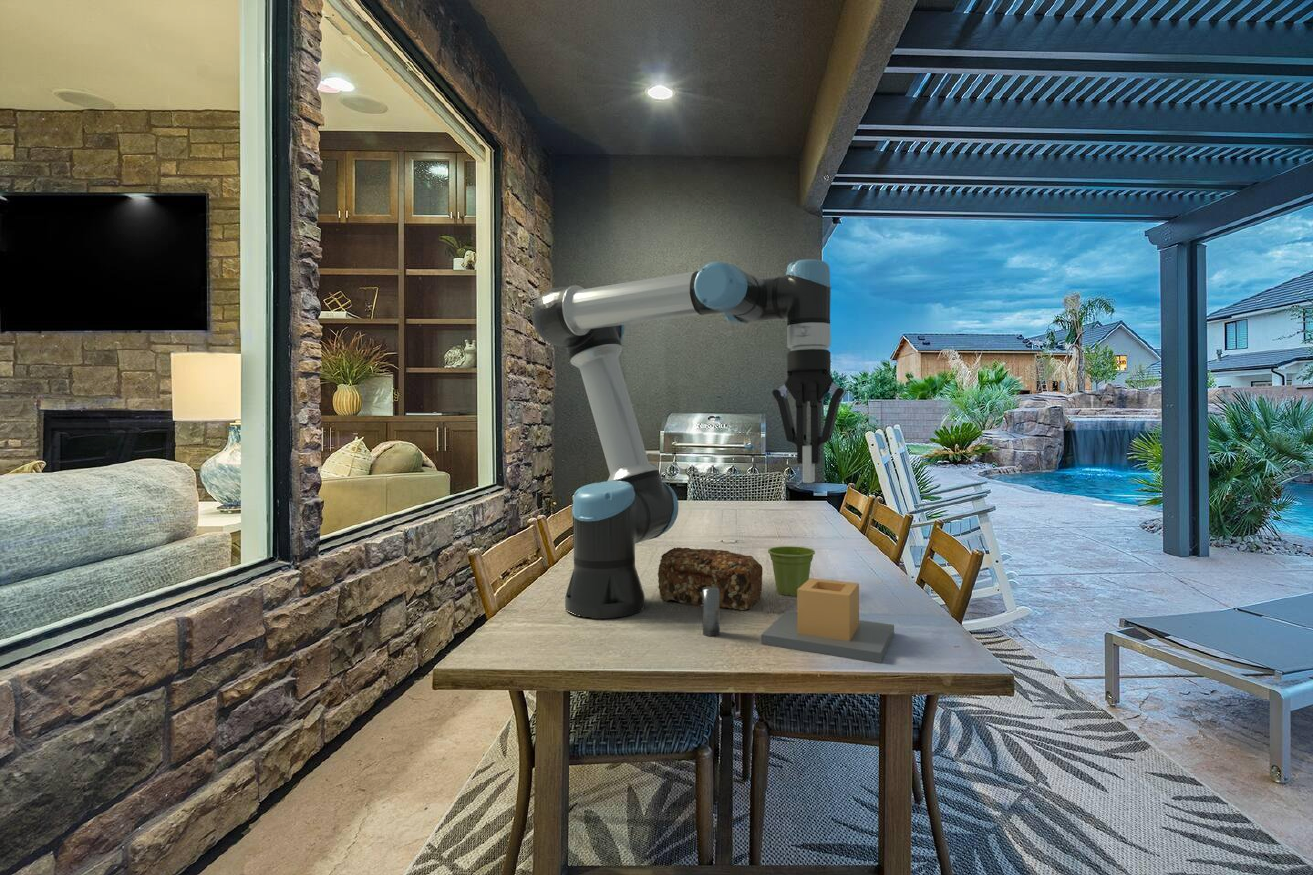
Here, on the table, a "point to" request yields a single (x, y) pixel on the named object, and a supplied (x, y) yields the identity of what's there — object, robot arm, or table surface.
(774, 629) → the board
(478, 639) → the table surface
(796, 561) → the plant pot
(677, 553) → the bread
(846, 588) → the collar
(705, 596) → the shiny metal cylinder
